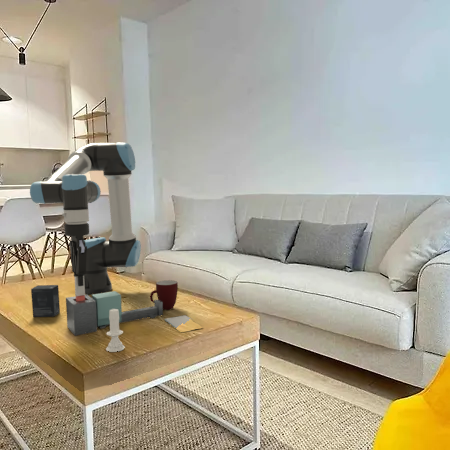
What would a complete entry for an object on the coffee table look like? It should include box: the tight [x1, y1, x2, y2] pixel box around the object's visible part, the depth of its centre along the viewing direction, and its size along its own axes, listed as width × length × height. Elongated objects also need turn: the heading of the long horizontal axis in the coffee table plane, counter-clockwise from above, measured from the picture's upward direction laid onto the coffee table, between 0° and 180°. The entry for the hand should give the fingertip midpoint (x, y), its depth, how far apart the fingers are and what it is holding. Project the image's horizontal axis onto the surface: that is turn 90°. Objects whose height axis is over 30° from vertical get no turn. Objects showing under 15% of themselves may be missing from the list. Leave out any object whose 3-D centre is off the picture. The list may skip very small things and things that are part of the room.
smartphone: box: [164, 314, 192, 328], centre depth 147 cm, size 8×1×15 cm
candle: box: [105, 309, 126, 353], centre depth 126 cm, size 5×5×12 cm
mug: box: [149, 279, 179, 311], centre depth 164 cm, size 11×8×10 cm
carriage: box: [91, 290, 123, 326], centre depth 148 cm, size 6×8×9 cm
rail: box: [97, 299, 164, 330], centre depth 152 cm, size 6×24×5 cm, turn 123°
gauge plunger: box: [75, 294, 86, 302], centre depth 143 cm, size 3×3×4 cm
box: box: [30, 284, 61, 318], centre depth 160 cm, size 8×6×11 cm
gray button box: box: [65, 294, 98, 336], centre depth 143 cm, size 10×7×10 cm
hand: (80, 295), depth 142 cm, fingers closed
